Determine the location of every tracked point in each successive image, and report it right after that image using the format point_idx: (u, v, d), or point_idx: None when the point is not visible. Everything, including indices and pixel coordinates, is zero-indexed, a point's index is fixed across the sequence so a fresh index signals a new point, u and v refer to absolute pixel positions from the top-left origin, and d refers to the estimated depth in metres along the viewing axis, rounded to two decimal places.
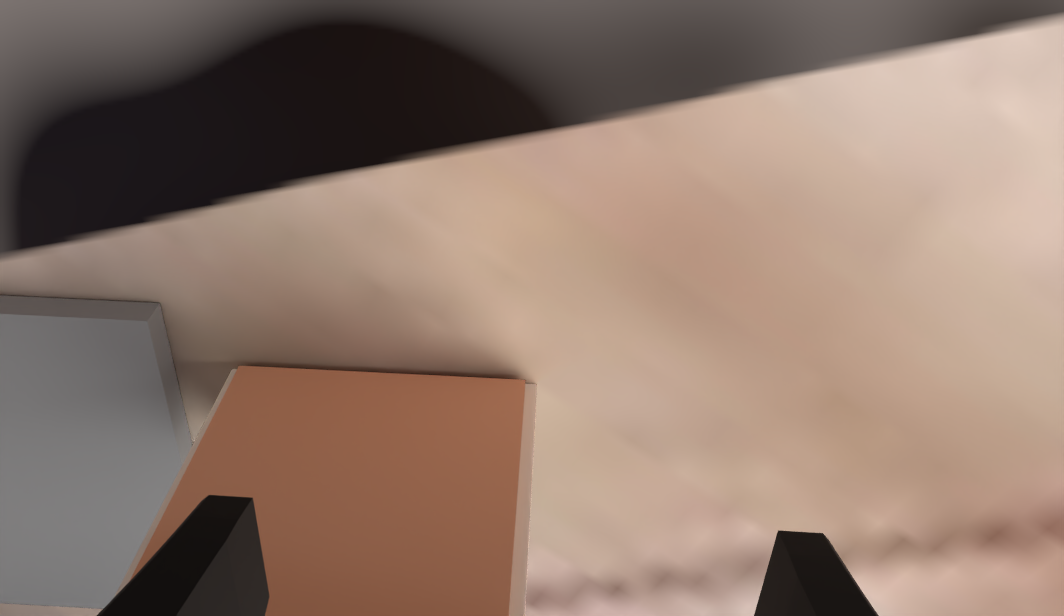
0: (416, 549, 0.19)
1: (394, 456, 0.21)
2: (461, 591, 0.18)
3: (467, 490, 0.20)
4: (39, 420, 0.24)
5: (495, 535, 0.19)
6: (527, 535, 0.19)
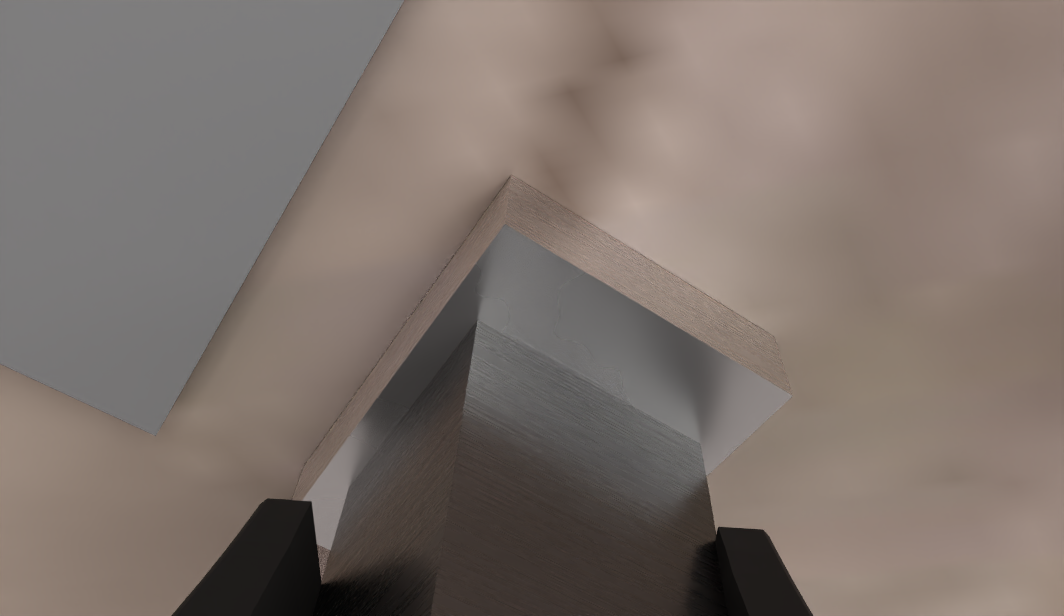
0: None
1: None
2: None
3: None
4: None
5: None
6: None
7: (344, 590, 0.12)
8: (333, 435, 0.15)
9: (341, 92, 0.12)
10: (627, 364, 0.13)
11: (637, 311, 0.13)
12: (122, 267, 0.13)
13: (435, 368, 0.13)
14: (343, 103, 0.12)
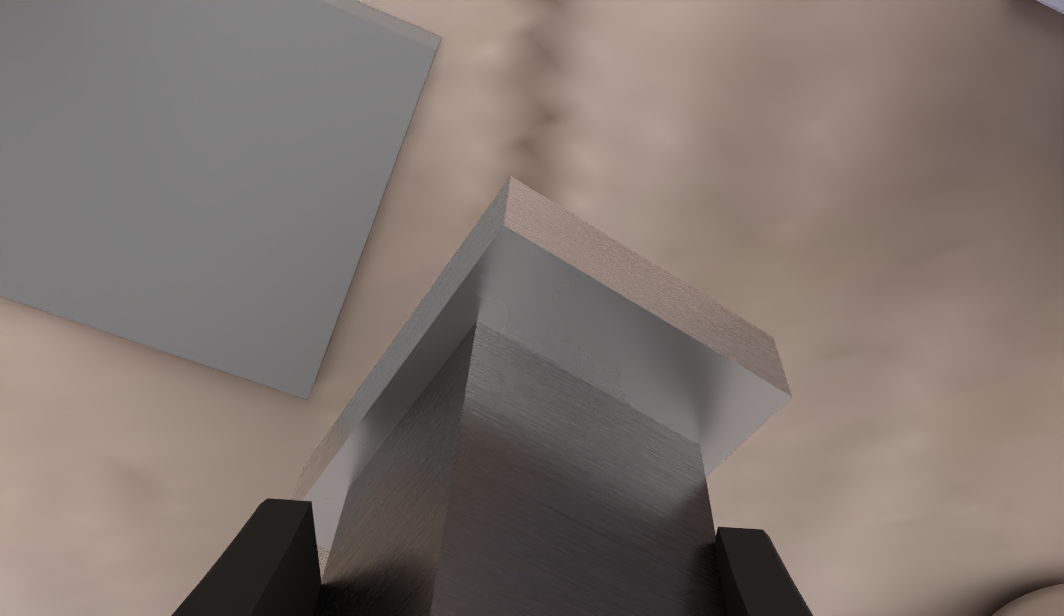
0: None
1: None
2: None
3: None
4: (33, 58, 0.19)
5: None
6: None
7: (343, 591, 0.12)
8: (333, 436, 0.15)
9: (387, 168, 0.20)
10: (626, 365, 0.13)
11: (637, 312, 0.13)
12: (274, 292, 0.22)
13: (434, 369, 0.13)
14: (389, 174, 0.20)
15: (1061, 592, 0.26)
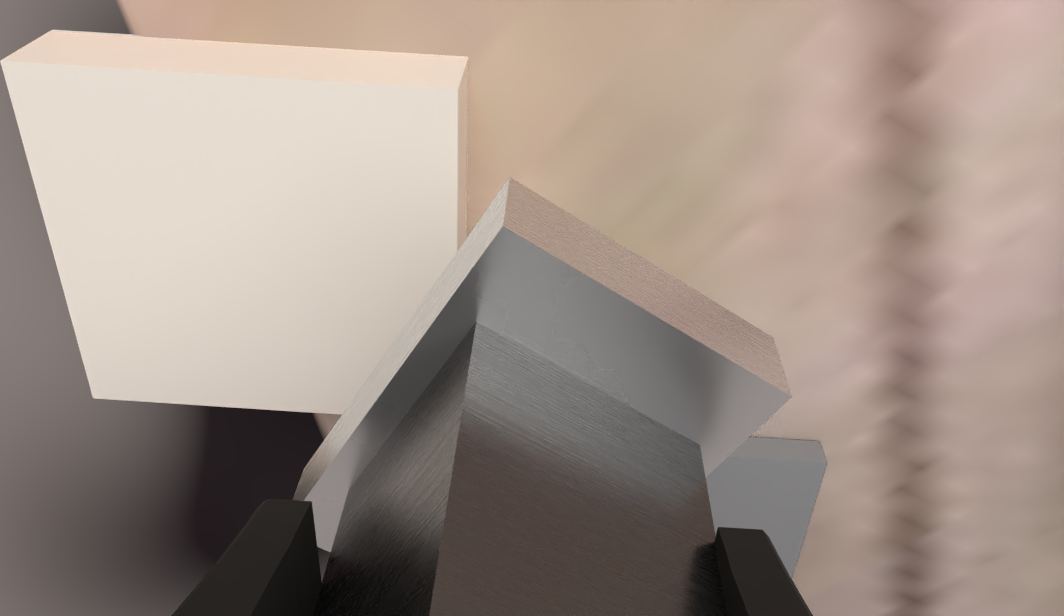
0: None
1: None
2: None
3: None
4: None
5: None
6: None
7: (343, 592, 0.12)
8: (333, 437, 0.15)
9: (799, 543, 0.24)
10: (626, 365, 0.13)
11: (636, 313, 0.13)
12: None
13: (434, 370, 0.13)
14: (801, 546, 0.24)
15: None
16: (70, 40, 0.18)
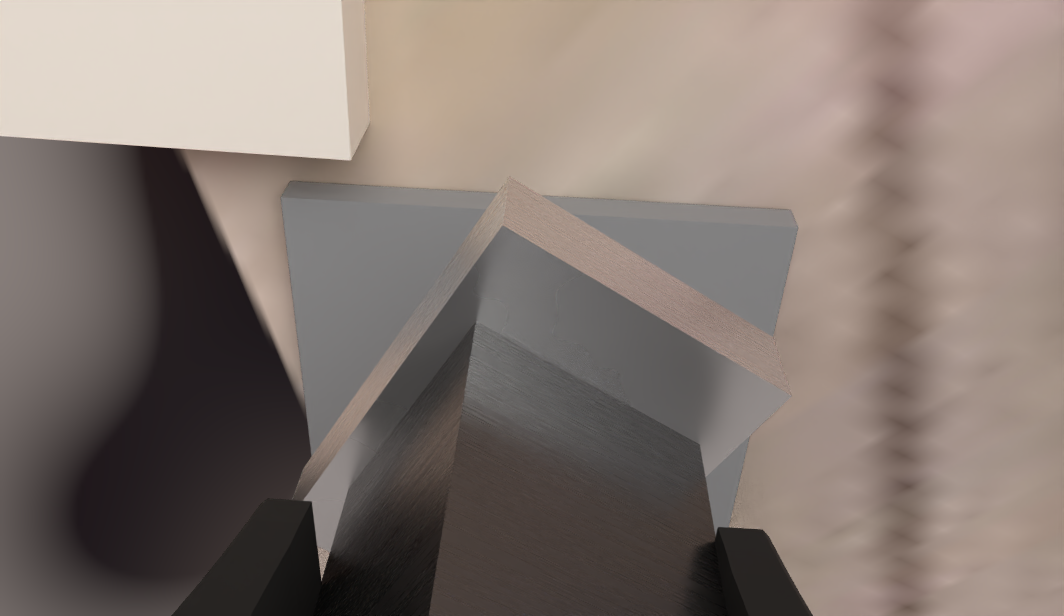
0: None
1: None
2: None
3: None
4: None
5: None
6: None
7: (343, 592, 0.12)
8: (332, 437, 0.15)
9: None
10: (626, 365, 0.13)
11: (636, 311, 0.13)
12: None
13: (434, 369, 0.13)
14: None
15: None
16: None
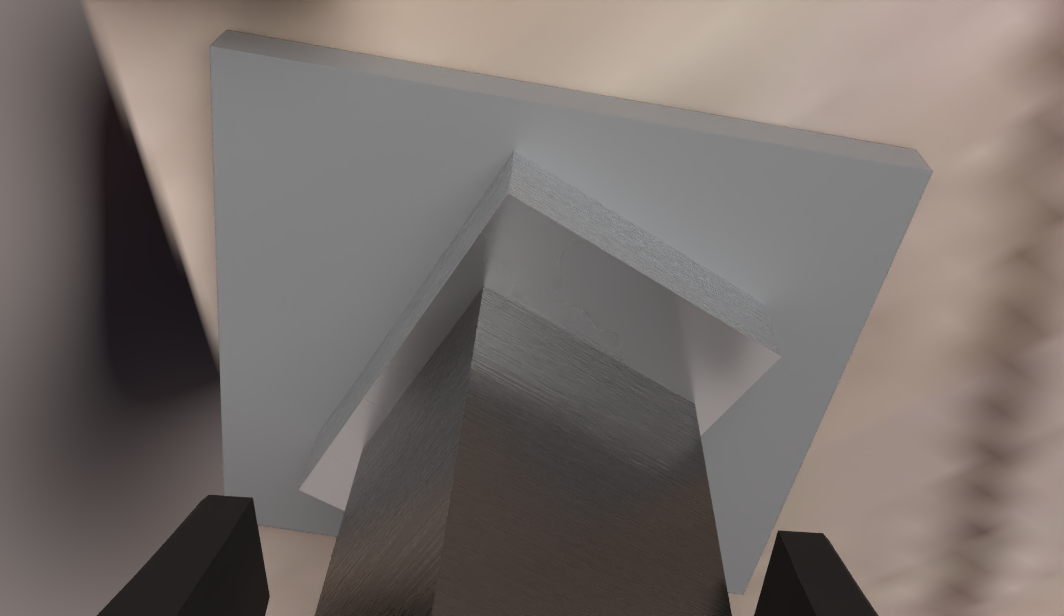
0: None
1: None
2: None
3: None
4: (417, 285, 0.15)
5: None
6: None
7: (360, 536, 0.13)
8: (347, 401, 0.16)
9: (858, 324, 0.15)
10: (624, 327, 0.14)
11: (633, 276, 0.13)
12: None
13: (444, 333, 0.14)
14: (860, 331, 0.16)
15: None
16: None
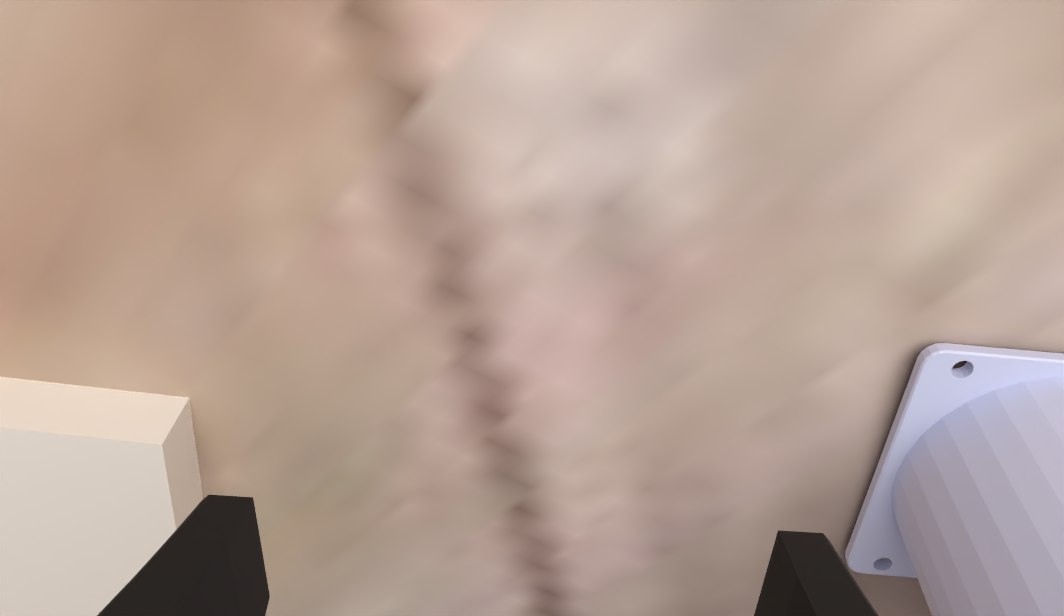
0: None
1: None
2: None
3: None
4: None
5: None
6: None
7: None
8: None
9: None
10: None
11: None
12: None
13: None
14: None
15: None
16: None
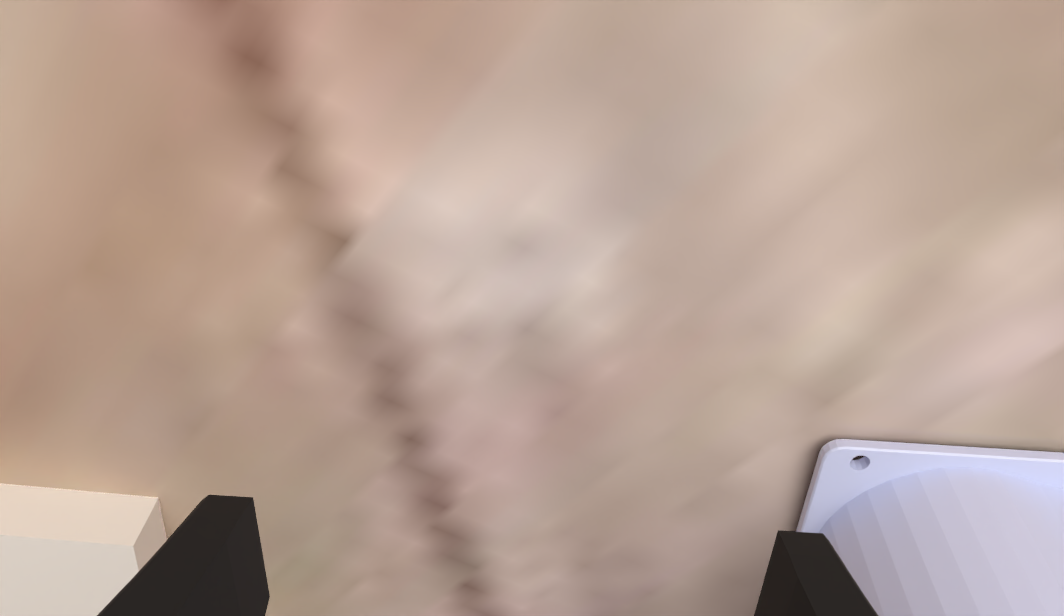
0: None
1: None
2: None
3: None
4: None
5: None
6: None
7: None
8: None
9: None
10: None
11: None
12: None
13: None
14: None
15: None
16: None
